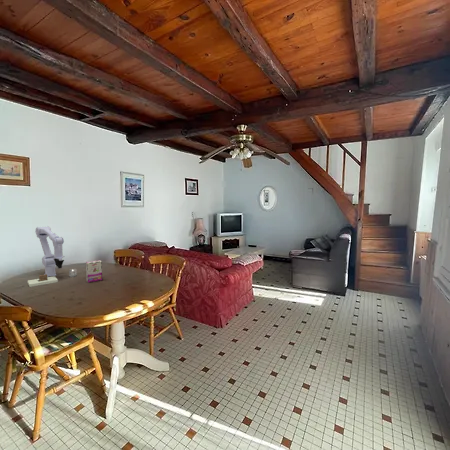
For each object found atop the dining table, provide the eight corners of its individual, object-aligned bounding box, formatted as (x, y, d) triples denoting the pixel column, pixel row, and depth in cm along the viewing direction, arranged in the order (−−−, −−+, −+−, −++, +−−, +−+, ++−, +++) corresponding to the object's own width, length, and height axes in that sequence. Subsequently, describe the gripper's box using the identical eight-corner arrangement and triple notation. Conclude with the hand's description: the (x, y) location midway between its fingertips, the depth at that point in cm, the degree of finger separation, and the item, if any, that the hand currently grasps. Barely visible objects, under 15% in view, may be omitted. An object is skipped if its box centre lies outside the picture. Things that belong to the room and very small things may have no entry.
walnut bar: (39, 282, 193) (38, 275, 193) (46, 281, 197) (46, 274, 196) (39, 283, 191) (39, 276, 191) (47, 282, 195) (47, 275, 194)
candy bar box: (101, 278, 207) (100, 260, 206) (102, 280, 203) (102, 261, 202) (86, 281, 200) (85, 261, 199) (87, 282, 196) (87, 263, 195)
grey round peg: (68, 276, 212) (68, 269, 212) (75, 274, 216) (75, 268, 216) (70, 277, 208) (70, 270, 208) (77, 276, 212) (77, 269, 212)
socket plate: (27, 283, 192) (27, 280, 192) (54, 278, 204) (54, 276, 204) (29, 286, 183) (29, 284, 183) (57, 282, 196) (57, 279, 196)
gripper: (65, 252, 202) (66, 268, 203) (62, 249, 212) (62, 264, 213) (55, 253, 197) (56, 269, 198) (52, 250, 207) (52, 266, 208)
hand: (58, 267), depth 205 cm, fingers open, 7 cm apart
